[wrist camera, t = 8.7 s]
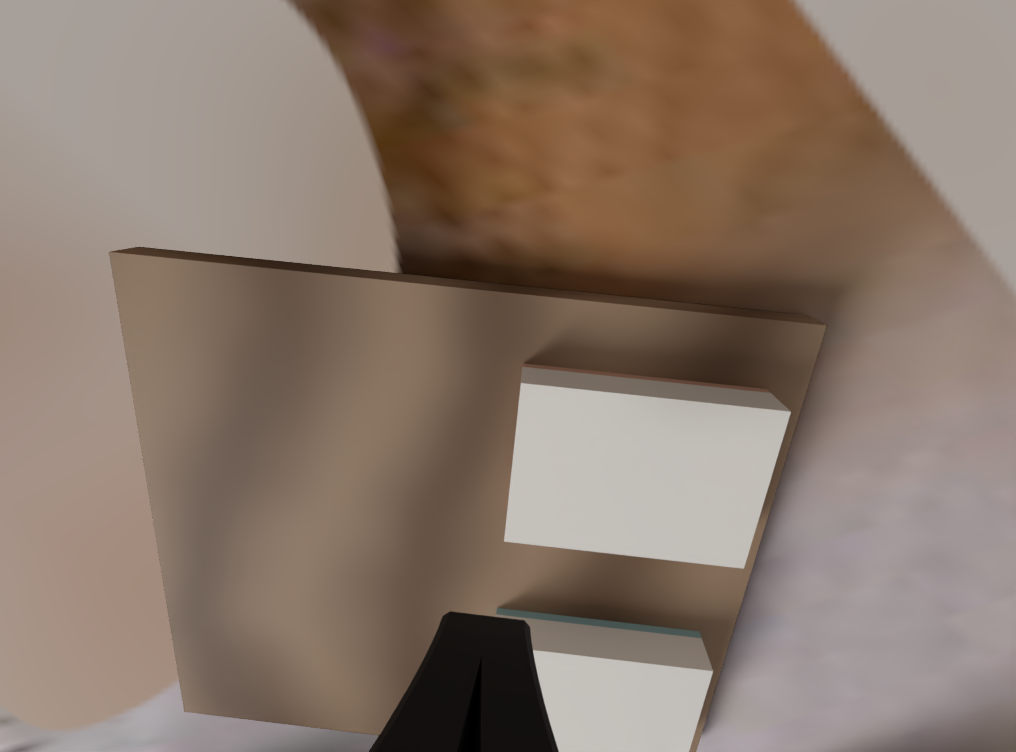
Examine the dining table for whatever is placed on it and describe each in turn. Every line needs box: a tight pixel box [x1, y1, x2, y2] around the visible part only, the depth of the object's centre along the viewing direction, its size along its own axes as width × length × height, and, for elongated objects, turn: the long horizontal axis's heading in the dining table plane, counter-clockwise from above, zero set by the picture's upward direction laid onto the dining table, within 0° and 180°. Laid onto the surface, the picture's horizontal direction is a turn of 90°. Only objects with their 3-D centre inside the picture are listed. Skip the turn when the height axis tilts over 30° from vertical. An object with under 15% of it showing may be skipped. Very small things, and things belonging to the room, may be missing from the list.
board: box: [109, 247, 827, 752], centre depth 19 cm, size 20×18×1 cm
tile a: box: [496, 608, 713, 752], centre depth 19 cm, size 2×5×7 cm
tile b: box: [504, 363, 791, 569], centre depth 16 cm, size 2×5×7 cm
